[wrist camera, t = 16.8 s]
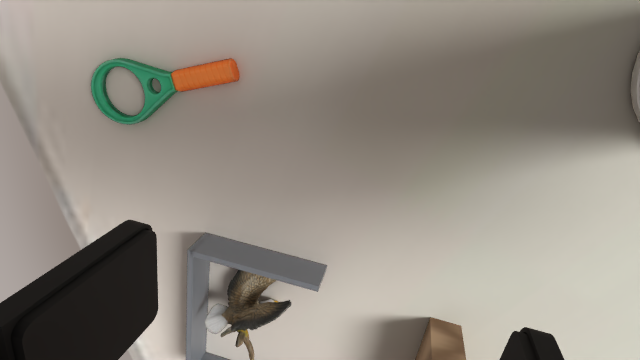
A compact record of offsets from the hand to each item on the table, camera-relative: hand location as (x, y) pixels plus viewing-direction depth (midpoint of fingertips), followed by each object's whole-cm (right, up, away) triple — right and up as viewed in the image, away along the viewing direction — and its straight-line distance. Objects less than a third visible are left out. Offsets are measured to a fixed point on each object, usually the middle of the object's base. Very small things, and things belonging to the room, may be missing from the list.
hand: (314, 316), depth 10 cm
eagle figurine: (-6, -8, +32) cm, 34 cm away
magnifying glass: (-14, +13, +26) cm, 32 cm away
